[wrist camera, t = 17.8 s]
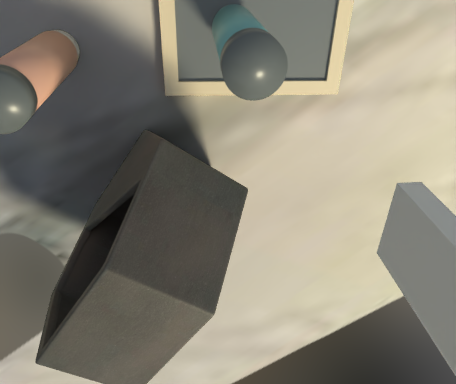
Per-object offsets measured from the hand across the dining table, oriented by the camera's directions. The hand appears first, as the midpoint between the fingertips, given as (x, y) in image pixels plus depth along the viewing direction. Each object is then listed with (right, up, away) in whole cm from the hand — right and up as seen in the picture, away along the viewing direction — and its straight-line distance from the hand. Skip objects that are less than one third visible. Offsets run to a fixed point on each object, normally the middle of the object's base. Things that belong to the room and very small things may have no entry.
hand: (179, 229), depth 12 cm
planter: (-7, +1, +29) cm, 29 cm away
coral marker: (-12, +13, +20) cm, 27 cm away
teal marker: (+2, +15, +20) cm, 25 cm away
